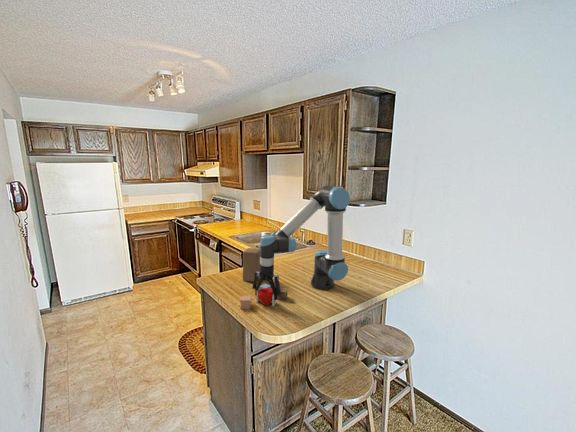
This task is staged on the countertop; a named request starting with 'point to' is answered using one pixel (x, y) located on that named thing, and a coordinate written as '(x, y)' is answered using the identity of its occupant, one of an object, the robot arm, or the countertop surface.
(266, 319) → the countertop surface
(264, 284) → the slate-blue cube
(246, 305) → the terracotta cube
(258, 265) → the wooden block
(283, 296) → the walnut cube
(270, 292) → the apple
